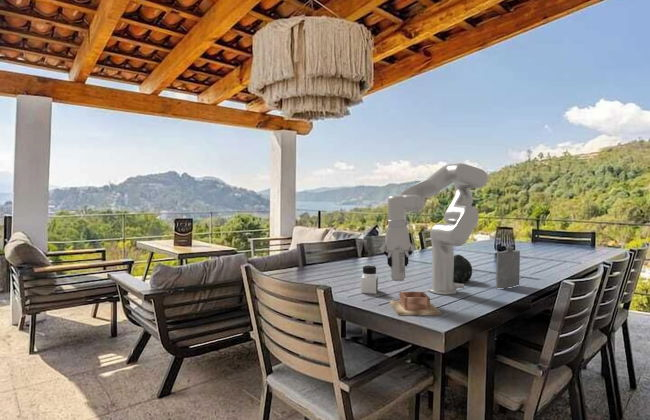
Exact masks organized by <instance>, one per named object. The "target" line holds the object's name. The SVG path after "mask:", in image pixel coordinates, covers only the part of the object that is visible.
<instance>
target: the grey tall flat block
mask: <svg viewBox="0 0 650 420" xmlns="http://www.w3.org/2000/svg"><path fill="white" fill-rule="evenodd" d="M520 261H521V250H518V249H517V250H516V249H515V247H514V246H511V245H510V246H507V245H506V246H505V250H502V251H497V252H496V277H495V278H496V282H495V283H496V285H495V287H496V288H508V287H513V286H516V285H519V286H520V265H521V263H520Z"/></svg>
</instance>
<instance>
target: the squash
mask: <svg viewBox="0 0 650 420" xmlns="http://www.w3.org/2000/svg"><path fill="white" fill-rule="evenodd" d="M472 275H473V266H472V264H471V262H470V261H469V260H468V259H467V258H465V257H464V256H463V255H461V254H456V255H455V254H454V274H453V282H455V283H459V284H463V283H465V282H469V281H470V279H471V278H472Z"/></svg>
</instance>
